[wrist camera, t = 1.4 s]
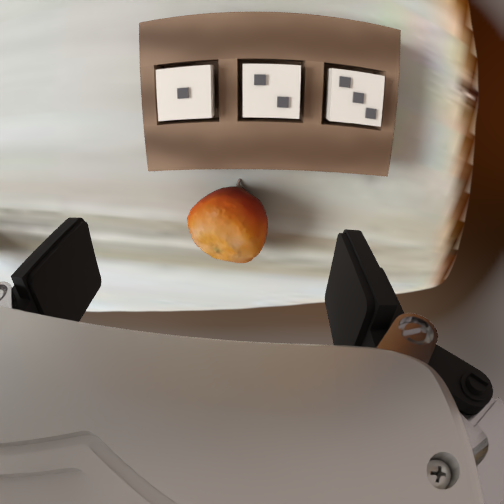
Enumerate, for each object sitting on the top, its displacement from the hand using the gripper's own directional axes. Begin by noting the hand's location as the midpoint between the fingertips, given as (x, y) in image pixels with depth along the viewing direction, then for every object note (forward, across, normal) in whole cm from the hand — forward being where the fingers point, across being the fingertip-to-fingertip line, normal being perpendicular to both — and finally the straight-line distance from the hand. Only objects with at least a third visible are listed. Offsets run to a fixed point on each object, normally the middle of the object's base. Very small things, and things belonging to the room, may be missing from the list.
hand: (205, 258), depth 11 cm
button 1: (+18, +5, -5) cm, 19 cm away
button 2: (+18, -2, -5) cm, 19 cm away
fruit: (+22, +1, +8) cm, 24 cm away
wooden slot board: (+22, -2, -5) cm, 23 cm away
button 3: (+18, -9, -5) cm, 21 cm away
